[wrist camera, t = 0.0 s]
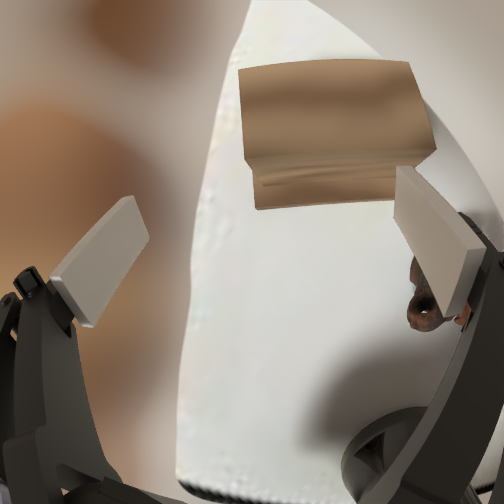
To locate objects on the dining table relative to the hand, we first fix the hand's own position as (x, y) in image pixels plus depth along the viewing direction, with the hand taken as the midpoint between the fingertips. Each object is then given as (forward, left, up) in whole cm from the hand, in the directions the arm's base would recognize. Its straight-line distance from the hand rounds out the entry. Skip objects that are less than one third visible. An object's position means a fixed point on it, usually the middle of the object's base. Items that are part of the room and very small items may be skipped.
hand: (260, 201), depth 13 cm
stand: (+8, -5, -15) cm, 18 cm away
